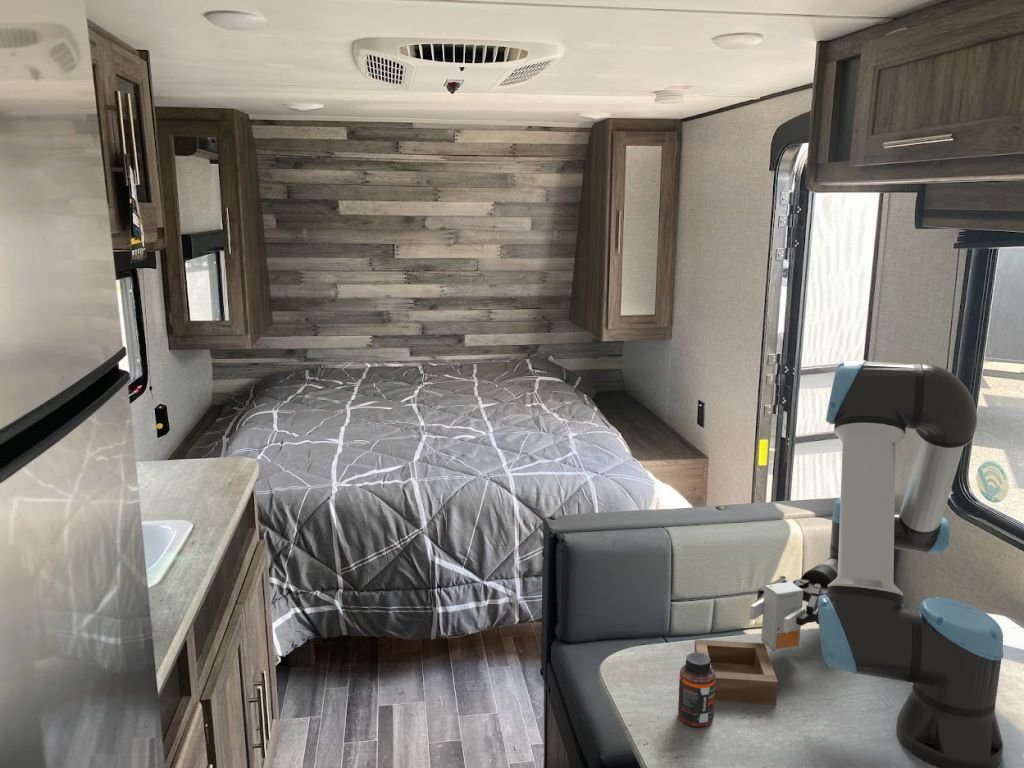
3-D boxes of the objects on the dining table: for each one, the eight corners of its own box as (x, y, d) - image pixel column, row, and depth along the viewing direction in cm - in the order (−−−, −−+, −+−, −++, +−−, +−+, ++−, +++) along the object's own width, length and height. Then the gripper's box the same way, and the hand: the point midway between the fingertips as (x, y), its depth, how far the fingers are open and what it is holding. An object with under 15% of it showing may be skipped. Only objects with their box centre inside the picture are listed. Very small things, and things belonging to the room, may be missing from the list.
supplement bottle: (714, 731, 131) (717, 669, 129) (677, 726, 133) (680, 665, 130) (712, 709, 137) (715, 650, 135) (677, 705, 138) (680, 647, 136)
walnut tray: (776, 704, 138) (777, 681, 138) (701, 699, 140) (702, 676, 139) (762, 664, 151) (764, 643, 150) (694, 660, 153) (694, 639, 152)
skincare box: (773, 652, 150) (776, 594, 147) (760, 642, 154) (763, 584, 152) (800, 647, 151) (804, 589, 149) (787, 637, 155) (790, 580, 153)
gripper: (871, 615, 157) (815, 657, 142) (782, 584, 171) (723, 619, 155) (874, 580, 156) (818, 618, 140) (784, 552, 169) (725, 584, 154)
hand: (768, 618), depth 148 cm, fingers closed on skincare box, 6 cm apart
